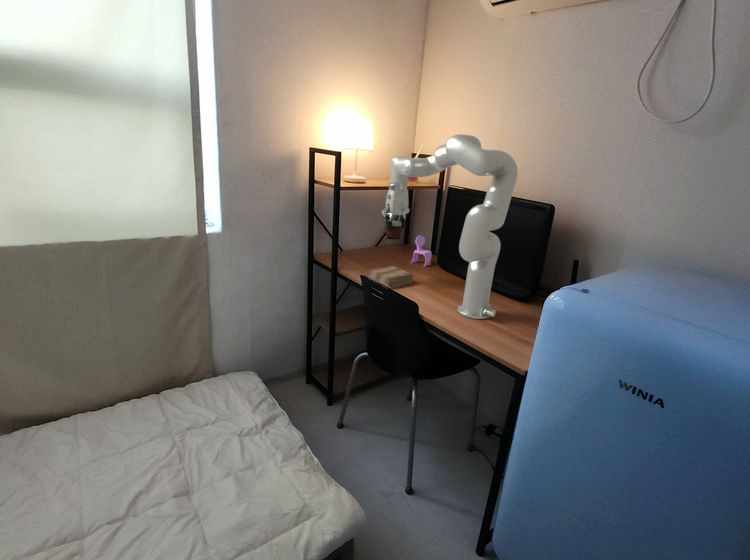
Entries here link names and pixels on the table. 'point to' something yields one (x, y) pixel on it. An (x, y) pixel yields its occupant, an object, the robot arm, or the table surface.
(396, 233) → the mate gourd
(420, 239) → the toy chair
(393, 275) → the cardboard box
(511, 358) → the table surface
